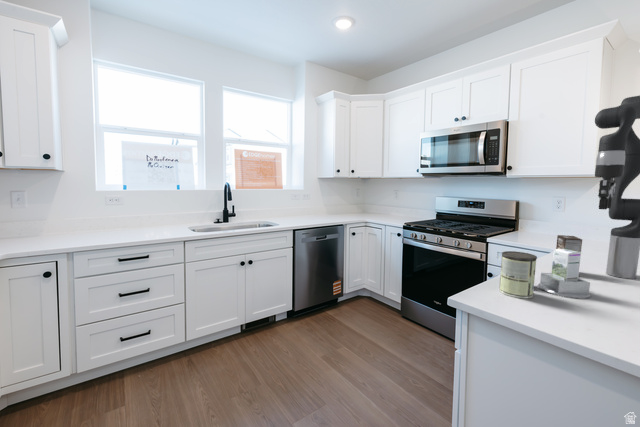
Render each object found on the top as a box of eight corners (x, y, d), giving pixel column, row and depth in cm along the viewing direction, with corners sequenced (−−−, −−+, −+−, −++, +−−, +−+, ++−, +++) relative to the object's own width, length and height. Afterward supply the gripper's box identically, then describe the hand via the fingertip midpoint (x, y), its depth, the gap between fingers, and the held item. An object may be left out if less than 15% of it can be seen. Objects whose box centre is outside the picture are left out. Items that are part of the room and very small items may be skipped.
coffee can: (495, 286, 113) (498, 250, 112) (527, 290, 110) (531, 252, 108) (502, 296, 103) (505, 256, 102) (537, 300, 100) (541, 259, 99)
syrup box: (577, 291, 108) (582, 252, 106) (564, 292, 106) (568, 252, 105) (562, 286, 113) (566, 248, 112) (549, 287, 112) (553, 248, 111)
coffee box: (553, 269, 138) (556, 234, 136) (570, 270, 136) (574, 235, 134) (561, 274, 130) (564, 238, 128) (579, 276, 127) (583, 239, 126)
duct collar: (529, 282, 118) (530, 270, 117) (569, 284, 117) (571, 272, 116) (555, 297, 103) (556, 283, 103) (602, 299, 102) (604, 285, 101)
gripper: (599, 165, 116) (594, 207, 118) (592, 163, 107) (587, 208, 109) (626, 164, 110) (621, 208, 112) (622, 162, 101) (616, 210, 103)
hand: (604, 208), depth 110 cm, fingers open, 8 cm apart
